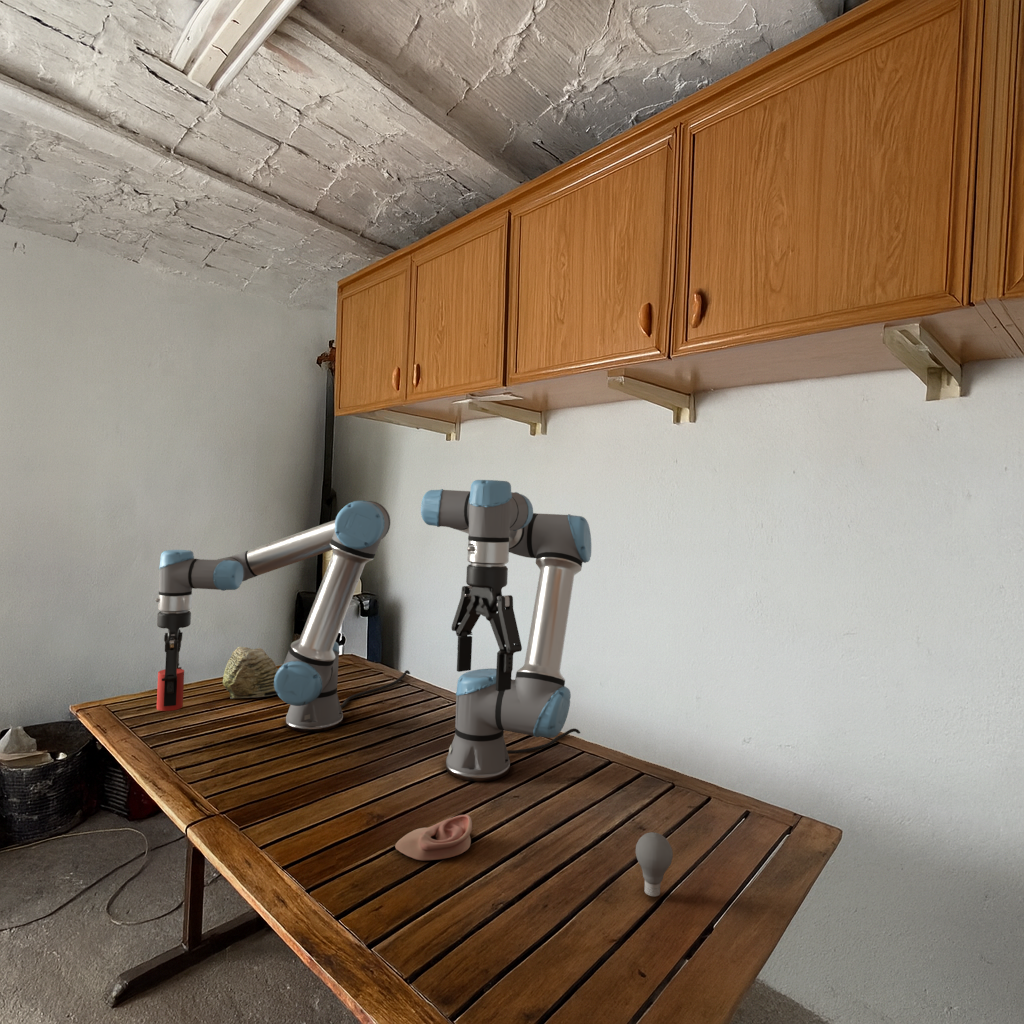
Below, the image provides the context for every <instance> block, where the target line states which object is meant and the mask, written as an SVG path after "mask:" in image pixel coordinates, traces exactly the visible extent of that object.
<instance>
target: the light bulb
mask: <svg viewBox="0 0 1024 1024" xmlns="http://www.w3.org/2000/svg"><path fill="white" fill-rule="evenodd" d="M673 853H674V852H673V848H672V845H671V844H670V842H669V841H668V839H667V838H666V837H665V836H664V835H662V834H661V833H659V832H654V831H652V832H647V833H644V834H643V835H641V837H639V839H638V840H637V842H636V843H635V857H636V860H637V862H638V864H639V866H640V868H641V870H642V877H643V879H644V888H643V890H644V893H645V894H646V895H648V896H650V897H658V896H660V895H661V884H662V882H663V880H664V875H665V873H666V872H667V870H668V869H669V868H670V866H671V864H672V861H673V858H674V857H673V856H674V854H673Z"/></svg>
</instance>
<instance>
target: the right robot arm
mask: <svg viewBox="0 0 1024 1024" xmlns="http://www.w3.org/2000/svg"><path fill="white" fill-rule="evenodd" d="M420 515H421V518H422V520H423V522H424V523H425V524H426V525H427V526H433V527H437V528H440V527H445V528H450V529H453V530H457V531H460V532H462V533H465V534H468V537H467V540H468V542H467V548H466V550H467V562H469V563H470V564H468V565H467V566H466V578H465V579H466V580H465V583H466V585H463V586H462V587H461V592H460V593H461V594H460V598H459V602H458V605H457V608H456V612H455V615H454V617H453V620H452V624H451V631H452V632H455V635H456V636H457V648H456V649H457V654H456V656H457V657H456V672H458V673H460V672H463V674H461V675H460V676H459V677H458V679H457V685H456V692H455V720H454V721H455V723H454V724H455V725H454V737H453V740H452V742H451V744H450V746H449V748H448V753H447V756H446V759H445V770H446V772H447V773H448V774H449V775H451V776H452V777H454V778H455V779H459V780H461V781H468V782H475V783H476V782H479V783H481V782H491V781H497V780H499V779H501V778H504V777H505V776H506V775H508V774H509V772H510V769H511V760H510V756H509V755H513V754H523V753H529V752H534V751H539V750H542V749H545V748H548V747H550V746H552V745H554V744H555V743H556V742H557V741H559V740H561V739H563V738H565V737H566V736H568V735H570V734H572V733H576V734H581V731H580V730H579V729H578V728H571V729H568V730H567V731H565V732H563V733H562V734H560V733H561V731H562V730H563V728H564V726H565V723H566V722H567V718H568V715H569V711H570V705H571V696H572V695H571V690H570V688H569V687H567V686H565V684H566V679H565V677H564V675H563V674H562V673H561V667H562V660H563V653H564V647H565V642H566V641H565V640H566V633H567V627H568V622H569V621H568V620H569V614H570V613H569V612H570V606H571V600H572V594H573V587H574V580H575V579H574V578H575V576H576V575H577V574H578V573H579V572H581V571H582V569H583V568H582V567H583V564H586V563H589V562H590V561H591V557H592V534H591V529H590V525H589V521H588V520H587V518H585V517H584V516H581V515H573V514H569V513H568V514H555V513H537V512H534V507H533V504H532V502H531V500H530V499H529V498H528V497H527V496H525V495H524V494H522V493H519V492H517V491H515V492H512V484H511V483H510V482H509V481H508V480H496V479H475V480H473V481H472V483H471V484H470V490H453V489H443V488H441V489H429V490H427V491H426V492H425V493H424V495H423V497H422V498H421V504H420ZM510 554H513V555H516V556H520V557H523V558H530V559H535V565H536V566H537V568H538V569H539V570H540V571H539V575H538V582H537V587H536V592H535V593H536V594H535V599H534V604H533V605H534V606H533V611H532V616H531V618H532V619H531V623H530V628H529V634H528V641H527V647H526V653H525V659H524V664H523V666H521V667H520V668H519V669H517V670H516V672H515V677H514V678H515V679H512V674H513V673H512V672H513V669H514V667H513V666H514V654H515V653H518V652H522V650H523V646H522V641H521V637H520V633H519V628H518V624H517V618H516V615H515V609H514V597H513V595H511V594H509V595H508V594H507V595H503V591H502V589H503V588H506V586H507V585H508V576H509V575H508V573H509V568H508V567H507V566H506V564H508V563H509V559H510V558H509V557H510ZM481 615H482V617H485V619H486V621H488V622H489V624H490V626H491V629H492V632H493V635H494V638H495V641H496V643H497V646H498V651H497V652H496V668H480V669H478V668H477V669H474V670H472V656H473V655H472V651H473V636H472V635H473V632H472V631H473V629H474V627H475V626H476V624H477V622H478V620H479V619H480V617H481ZM505 732H510V733H516V734H521V735H527V736H532V737H536V738H547V739H552V740H551V741H548V742H547V743H544V744H541V745H537V746H533V747H527V748H521V749H508V748H507V744H506V740H505V737H504V733H505ZM559 734H560V735H559Z"/></svg>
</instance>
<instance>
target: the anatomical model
mask: <svg viewBox="0 0 1024 1024" xmlns="http://www.w3.org/2000/svg"><path fill="white" fill-rule="evenodd" d="M472 830H473V821H472V818H471V816H470V815H469V814H459V815H456V816H452V817H450V818H447V819H444V820H442V821H440V822H437V823H436V824H435V823H434V824H433V825H431V826H429V827H420V828H417V829H413V830H412V831H409V832H408V833H406V834H405V835H403V836H402V837H401V838H400V839H399V840H397V842H396V843H395V845H394V848H395V849H396V851H398V852H400V853H401V854H403V855H405V856H406V857H408V858H412V859H414V860H417V861H436V860H437V861H438V860H444V859H450V858H453V857H456V856H459V855H462V854H463V853H464V852H467V851H468V850H469V848H470V847H471V844H472V839H471V833H472Z"/></svg>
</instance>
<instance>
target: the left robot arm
mask: <svg viewBox="0 0 1024 1024" xmlns="http://www.w3.org/2000/svg"><path fill="white" fill-rule="evenodd" d="M390 516H391V515H390V514H389V511H388V510H387V509H386V508H385V507H384V506H383V505H382V504H381V503H379V502H377V501H372V500H354V501H352V502H349V503H347V504H346V505H345V506H343V508H341V509H340V510H339V512H338V513H337V515H336V516H335V519H334V520H331V521H328V522H324V523H322V524H320V525H317V526H313V527H311V528H308V529H306V530H302V531H299V532H297V533H294V534H291V535H288V536H285V537H281V538H279V539H277V540H274V541H271V542H268V543H265V544H262V545H260V546H257V547H254V548H251V549H248V550H245V551H242V552H239V553H237V554H233V555H230V556H226V557H221V558H218V559H204V558H203V559H201V558H195V556H194V552H193V551H192V550H189V549H188V550H187V549H166V550H164V551H162V553H161V554H160V558H159V559H160V560H159V567H158V571H159V572H158V573H159V574H158V597H156V598H155V602H156V603H158V605H157V610H158V612H157V619H156V620H157V621H156V622H157V623H156V626H157V627H158V628H159V629H167V632H165V633H164V637H163V641H164V652H165V665H164V667H165V668H164V669H165V677H164V678H162V681H165V687H164V706H174V705H176V695H177V668H178V669H182V666H180V652H181V648H182V640H183V632H182V631H181V629H183V628H188V627H190V625H191V623H192V621H191V619H192V612H191V611H190V610H191V609H192V606H193V605H192V602H193V589H195V590H196V589H197V590H198V589H199V590H217V591H223V592H224V591H236V590H238V589H239V588H240V587H241V585H242V584H243V582H246V581H248V580H251V579H254V578H256V577H258V576H260V575H264V574H267V573H269V572H272V571H275V570H278V569H280V568H285V567H287V566H289V565H293V564H295V563H298V562H301V561H304V560H307V559H311V558H313V557H316V556H318V555H322V554H324V553H327V552H330V551H332V554H331V557H330V559H329V562H328V565H327V567H326V570H325V572H324V575H323V577H322V579H321V583H320V586H319V588H318V590H317V592H316V595H315V599H314V601H313V603H312V606H311V608H310V611H309V614H308V616H307V619H306V622H305V624H304V627H303V630H302V632H301V634H300V637H299V638H298V639H296V640H294V641H293V642H291V643H290V646H289V649H288V652H287V654H286V656H285V659H284V662H283V663H282V665H280V667H279V668H278V670H277V672H276V675H275V678H274V688H275V691H276V693H277V694H276V695H277V696H278V698H279V699H280V700H281V701H283V702H284V703H286V704H287V705H289V708H288V711H287V713H286V715H285V726H286V728H287V729H289V730H291V731H294V732H295V731H296V732H301V733H316V732H325V731H329V730H332V729H335V728H337V727H339V726H340V725H342V723H343V722H344V714H343V709H342V708H345V707H346V705H347V704H348V702H350V701H351V700H353V699H356V698H359V697H361V696H365V695H368V694H372V693H375V692H379V691H381V690H384V689H387V688H390V687H393V686H395V685H396V684H398V683H400V682H401V681H402V680H403V679H404V678H405V677H406V676H407V675H411V672H410V670H409V669H408V670H405V671H404V672H403V673H402V675H400V676H399V677H398V678H397V679H395V680H394V681H392V682H389V683H387V684H384V685H382V686H379V687H375V688H372V689H367V690H365V691H362V692H358V693H355V694H352V695H349V696H348V697H346V698H345V700H344V701H343V703H342V704H341V702H340V699H339V695H338V682H339V681H338V680H339V678H338V677H339V660H340V659H339V657H340V645H339V643H338V642H337V639H338V636H339V633H340V630H341V627H342V625H343V622H344V620H345V617H346V615H347V613H348V610H349V607H350V604H351V602H352V599H353V597H354V594H355V592H356V589H357V587H358V584H359V582H360V579H361V576H362V574H363V571H364V568H365V565H366V564H367V563H369V562H371V561H373V560H374V559H375V556H376V554H377V551H378V549H379V546H380V543H381V541H382V540H383V539H384V538H385V537H386V536H387V534H388V533H389V531H390V528H391V517H390ZM179 666H180V667H179Z"/></svg>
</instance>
